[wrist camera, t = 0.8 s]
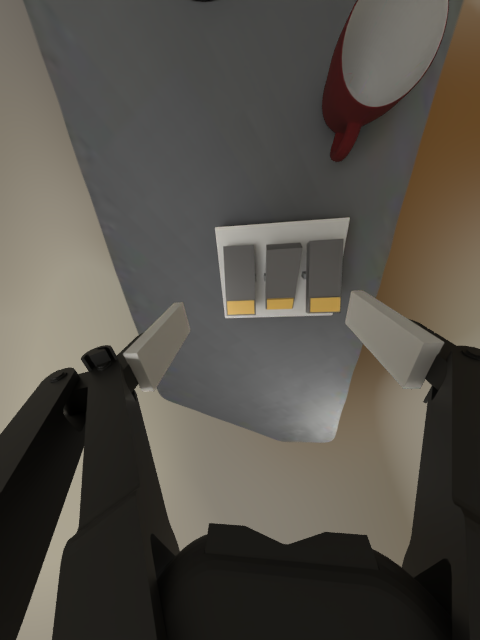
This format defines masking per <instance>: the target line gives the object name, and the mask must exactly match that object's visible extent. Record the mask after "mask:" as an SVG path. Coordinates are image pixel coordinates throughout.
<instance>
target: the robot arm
mask: <svg viewBox="0 0 480 640" xmlns="http://www.w3.org/2000/svg"><path fill="white" fill-rule="evenodd" d="M199 1H207V0H199ZM345 324H346V325H347V326H348V327H349V328H350V329H351V330H352V331H353V333H354V334H355V335H356V336H357V337H358V338H359V339H360V340H361V342H362V343H363V344H364V345H365V346H366V347H367V348H368V349H369V350H370V352H371V353H372V354H373V355H374V356H375V357H376V358H377V359H378V361H379V362H380V363H381V364H382V365H383V366H384V367H385V369H386V370H387V371H388V372H389V373H390V374H391V375H392V376H393V378H394V379H395V380H396V381H397V382H398V383H399V384H400V385H401V387H402V388H403V389H420V388H421V386H422V385H423V383H424V381H425V379H426V380H427V381H428V382H429V383H430V384H431V385H432V387H431V389H430V391H429V392H428V394H427V396H426V398H425V399H424V403H427V402H428V404H427V412H426V421H425V429H424V437H423V445H422V453H421V462H420V470H419V478H418V486H417V494H416V502H415V511H414V519H413V527H412V536H411V540H410V544H409V547H408V549H407V552H406V554H405V557H404V561H403V565H402V567H400V566H399V565H397V564H396V563H394V562H393V561H392V560H391V559H389V558H388V557H386V556H384V555H383V554H381V553H379V552H377V551H375V550H373V549H372V548H371V545H370V543H369V540H368V537H367V535H358V534H344V533H331V532H324V533H321V534H318V535H315V536H312V537H309V538H306V539H303V540H300V541H297V542H294V543H292V544H288V545H287V544H282V543H279V542H278V541H275V540H273V539H271V538H269V537H267V536H265V535H263V534H261V533H259V532H256V531H254V530H252V529H250V528H248V527H246V526H239V525H226V524H213V523H210V524H209V528H208V534H207V535H204V536H202V537H200V538H198V539H196V540H194V541H193V542H192V543H190V544H189V545H187V546H186V547H185V548H184V549H183V550H182V551H179V547H178V544H177V541H176V538H175V535H174V533H173V530H172V528H171V526H170V523H169V520H168V516H167V512H166V508H165V505H164V500H163V497H162V493H161V488H160V484H159V481H158V477H157V473H156V469H155V465H154V461H153V457H152V453H151V449H150V446H149V441H148V437H147V433H146V429H145V426H144V421H143V417H142V413H141V410H140V406H139V402H138V398H137V394H136V392H135V390H134V389H135V388H136V386H137V385H138V384H139V386H140V388H141V390H142V391H155V389H156V387H157V386H158V384H159V382H160V381H161V379H162V377H163V376H164V374H165V372H166V371H167V369H168V367H169V366H170V364H171V362H172V361H173V359H174V357H175V356H176V354H177V352H178V351H179V349H180V347H181V346H182V344H183V342H184V341H185V339H186V337H187V336H188V334H189V332H190V327H189V323H188V320H187V316H186V312H185V308H184V305H183V302H180V303H173V304H172V305H171V306H170V307H169V308H168V309H167V310H166V311H165V312H164V313H163V314H162V315H161V316H160V317H159V318H158V319H157V320H156V321H155V322H154V323H153V324H152V325H151V326H150V327H149V328H148V329H147V330H146V331H145V332H144V333H142V334H140V335H139V336H137V337H136V338H135V339H134V340H133V341H132V342H131V343H130V344H129V345H128V346H127V347H125V348H124V350H122V351H121V352H120V353H119V354H118V355H117V356H116V354H115V353H114V351H113V349H112V347H111V346H108V345H105V346H100V347H97V348H94V349H92V350H90V351H88V352H87V353H85V354H84V355H83V356H82V358H81V360H82V362H83V363H84V365H85V366H86V368H87V369H88V371H89V372H85V373H81V374H77V372H76V371H75V370H74V368H65V369H62V370H58V371H56V372H54V373H52V374H51V375H49V376H48V377H47V378H45V379H44V380H43V381H42V382H41V383H40V385H39V386H38V387H37V389H36V390H35V391H34V393H33V394H32V395H31V396H30V397H29V399H28V400H27V401H26V403H25V404H24V405H23V406H22V408H21V409H20V410H19V411H18V413H17V414H16V415H15V417H14V418H13V419H12V420H11V422H10V423H9V424H8V425H7V427H6V428H5V429H4V431H3V432H2V433H1V434H0V640H16V638H17V635H18V633H19V630H20V627H21V624H22V622H23V619H24V616H25V613H26V610H27V607H28V605H29V602H30V599H31V596H32V593H33V590H34V588H35V585H36V582H37V579H38V576H39V573H40V571H41V568H42V565H43V562H44V559H45V556H46V553H47V551H48V548H49V545H50V542H51V539H52V536H53V533H54V531H55V528H56V525H57V522H58V519H59V516H60V513H61V511H62V508H63V505H64V502H65V499H66V496H67V493H68V491H69V488H70V485H71V482H72V479H73V476H74V473H75V470H76V468H77V465H78V462H79V459H80V456H81V453H82V450H83V448H84V458H83V473H82V488H81V503H80V519H79V528H78V531H77V533H76V534H75V535H74V536H73V537H72V538H70V539H69V540H68V541H67V544H66V546H65V548H64V551H63V555H62V560H61V566H60V575H59V584H58V592H57V601H56V610H55V618H54V627H53V636H52V640H480V349H478V348H475V347H469V346H456V345H454V344H453V343H451V342H449V341H448V340H446V339H444V338H443V337H441V336H440V335H438V334H436V333H434V332H433V331H432V330H430V329H427V327H425V326H423V325H422V324H420V323H418V322H415V321H413V320H410V319H407V318H405V317H404V316H402V315H401V314H399V313H397V312H396V311H394V310H393V309H391V308H390V307H388V306H386V305H385V304H383V303H382V302H380V301H379V300H377V299H376V298H374V297H372V296H371V295H369V294H368V293H366V292H365V291H363V290H356V291H351V295H350V300H349V306H348V311H347V316H346V321H345Z"/></svg>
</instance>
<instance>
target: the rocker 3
mask: <svg viewBox="0 0 480 640" xmlns="http://www.w3.org/2000/svg"><path fill="white" fill-rule="evenodd" d="M343 242H344V239H330V240H314V241H309V242H308V243H307V253H306V313H340V307H341V285H342V264H343Z"/></svg>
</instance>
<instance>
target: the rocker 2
mask: <svg viewBox="0 0 480 640" xmlns="http://www.w3.org/2000/svg"><path fill="white" fill-rule="evenodd" d="M302 250H303V247H302V245H301V243H300V242H299V243H284V244H268V245H266V283H265V307H266V309H267V310H270V309H292V308H293V305H294V299H295V293H296V287H297V281H298V274H299V268H300V262H301V256H302Z"/></svg>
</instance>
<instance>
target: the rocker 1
mask: <svg viewBox="0 0 480 640" xmlns="http://www.w3.org/2000/svg"><path fill="white" fill-rule="evenodd" d="M223 253H224V273H225V292H226V311H227V316H238V315H256V297H255V259H254V244H253V245H237V246H223Z"/></svg>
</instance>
